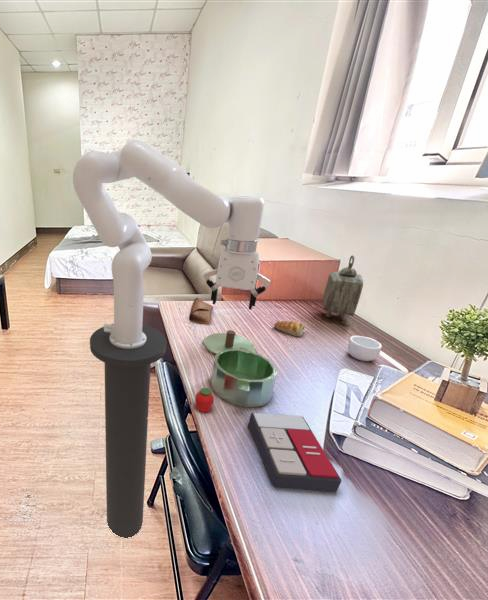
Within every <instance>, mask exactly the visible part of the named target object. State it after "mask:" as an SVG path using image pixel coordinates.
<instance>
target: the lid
mask: <svg viewBox="0 0 488 600" xmlns="http://www.w3.org/2000/svg"><path fill="white" fill-rule="evenodd" d="M203 343H204V347H205V348H206V349H207V350H208V351H209V352H211V353H213V354H215V355H216V354H218V353H219V352H220V351H224V350H228V349H240V347H243V348H248V349H249V351H251V352H254V353H256V346H255V344H254V343H253V342H251V341H250V340H249V339H247V338H246V337H243V336H240V335H237V334H236V331H234V330H233V329H232V330H231V329H228V330H227V331H226V333H224V332H218V333H212V334H209V335H207V336H206V337H205V338H204V341H203Z"/></svg>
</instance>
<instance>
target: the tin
mask: <svg viewBox="0 0 488 600" xmlns="http://www.w3.org/2000/svg"><path fill="white" fill-rule="evenodd" d="M277 374H278V372H277V367H276V366H275V365H274V363H273V362H272V361H271V360H270V359H268V358H267V357H266V356H263V355H262V354H259V353H257V352H255V353H254V352H251V351H249V349H248V348H243V347H240V349H228V350H224V351H220V352H219V353H218V354H215V355H214V359H213V366H212V372H211V378H210V379H211V380H210V385H211V388H212V390H213V392H214V393H215V394H216V395H217V396H218V397H219V398H220V399H222V400H223V401H225V402H227V403H230V404H232V405H235V406H238V407H243V408H259V407H263V406H264V405H267V404H269V402H270V400H271V398H272V396H273V392H274V388H275V384H276V383H275V382H276V380H277Z"/></svg>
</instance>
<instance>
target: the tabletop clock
mask: <svg viewBox="0 0 488 600" xmlns="http://www.w3.org/2000/svg"><path fill="white" fill-rule="evenodd" d="M354 263H355V255H350V257H349V261H348V266H346V267H344V268H342V269H341V270H340V271H334V272H330V273H329V274H328V277H327V281H326V284H325V285H326V286H325V289H324V292H323V297H322V308H323V309H324V310H325V311H327V312H328V313H326V314H325V317H326V318H331V316H332V313H333V314H339V315H340V317H341V319H342V321H341V324H342V325H343V326H346V325H347V324H348V321H347V320H345V319H346V318H345V316H351V317H354V315H355V314H356V310H357V307H358V304H359V302H360V299H361V295H362V291H363V287H364V279H363V276H362V275H361V274H359V273H357V270H356V269H355V268H353V266H354Z"/></svg>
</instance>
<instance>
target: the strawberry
mask: <svg viewBox="0 0 488 600" xmlns="http://www.w3.org/2000/svg"><path fill="white" fill-rule="evenodd" d="M214 402H215V399H214V395H213V394H212V391H211V389H209V388H208V387H201V388H200V390H199V391H197V392H196V395H195V408H196V409H197V410H198V411H200V412H201V413H210V412H211V410H212V406H213V404H214Z"/></svg>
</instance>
